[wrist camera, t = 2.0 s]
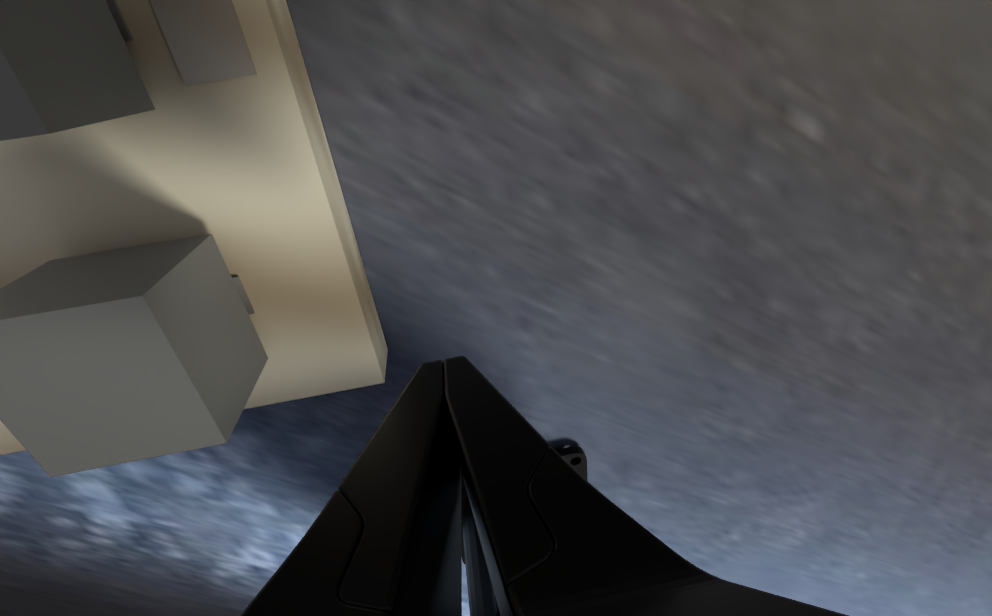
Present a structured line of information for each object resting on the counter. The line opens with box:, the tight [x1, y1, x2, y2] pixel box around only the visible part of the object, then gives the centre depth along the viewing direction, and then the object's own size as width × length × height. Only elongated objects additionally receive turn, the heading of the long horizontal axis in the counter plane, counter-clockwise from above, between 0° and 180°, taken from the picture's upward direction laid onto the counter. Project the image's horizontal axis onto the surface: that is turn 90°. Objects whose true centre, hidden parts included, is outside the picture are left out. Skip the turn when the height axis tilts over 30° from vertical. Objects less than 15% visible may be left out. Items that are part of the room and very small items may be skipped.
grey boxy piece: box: [0, 234, 268, 477], centre depth 11 cm, size 4×4×4 cm
